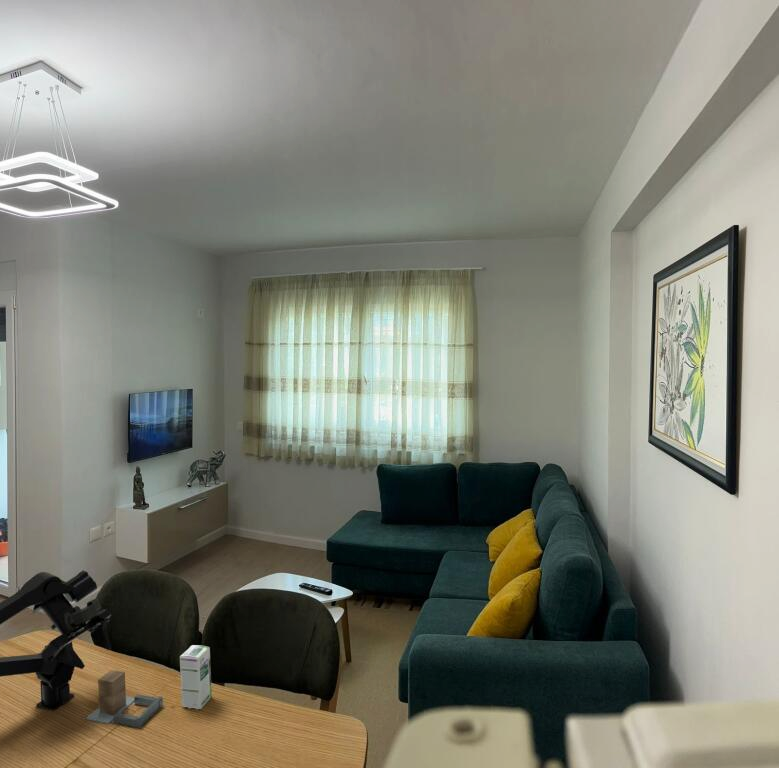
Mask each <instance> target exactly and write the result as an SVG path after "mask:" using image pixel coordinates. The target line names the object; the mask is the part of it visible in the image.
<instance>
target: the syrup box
mask: <svg viewBox="0 0 779 768" xmlns="http://www.w3.org/2000/svg"><path fill="white" fill-rule="evenodd" d="M210 648H211V647H209V646H206V645H200V644H199V645H196V644H195V645H194V644H192V645H190V646H189V648H188V649H186V650H185V651H184V652H183V653H182V654H181V655H180V656H179V667H180V669H179V670H180V687H181V689H180V691H181V693H180V694H181V707H182V708H185V707H188V708H187V709H191V708H195V709H194V710H199V709H201V710H202V709H203V707H204V706H205V705H206V704H207V703H208V702H209V700H210V699H211V698H212V696H213V693H212V690H213V689H212V672H211V670H212V669H211V651H210V650H211V649H210Z"/></svg>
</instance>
